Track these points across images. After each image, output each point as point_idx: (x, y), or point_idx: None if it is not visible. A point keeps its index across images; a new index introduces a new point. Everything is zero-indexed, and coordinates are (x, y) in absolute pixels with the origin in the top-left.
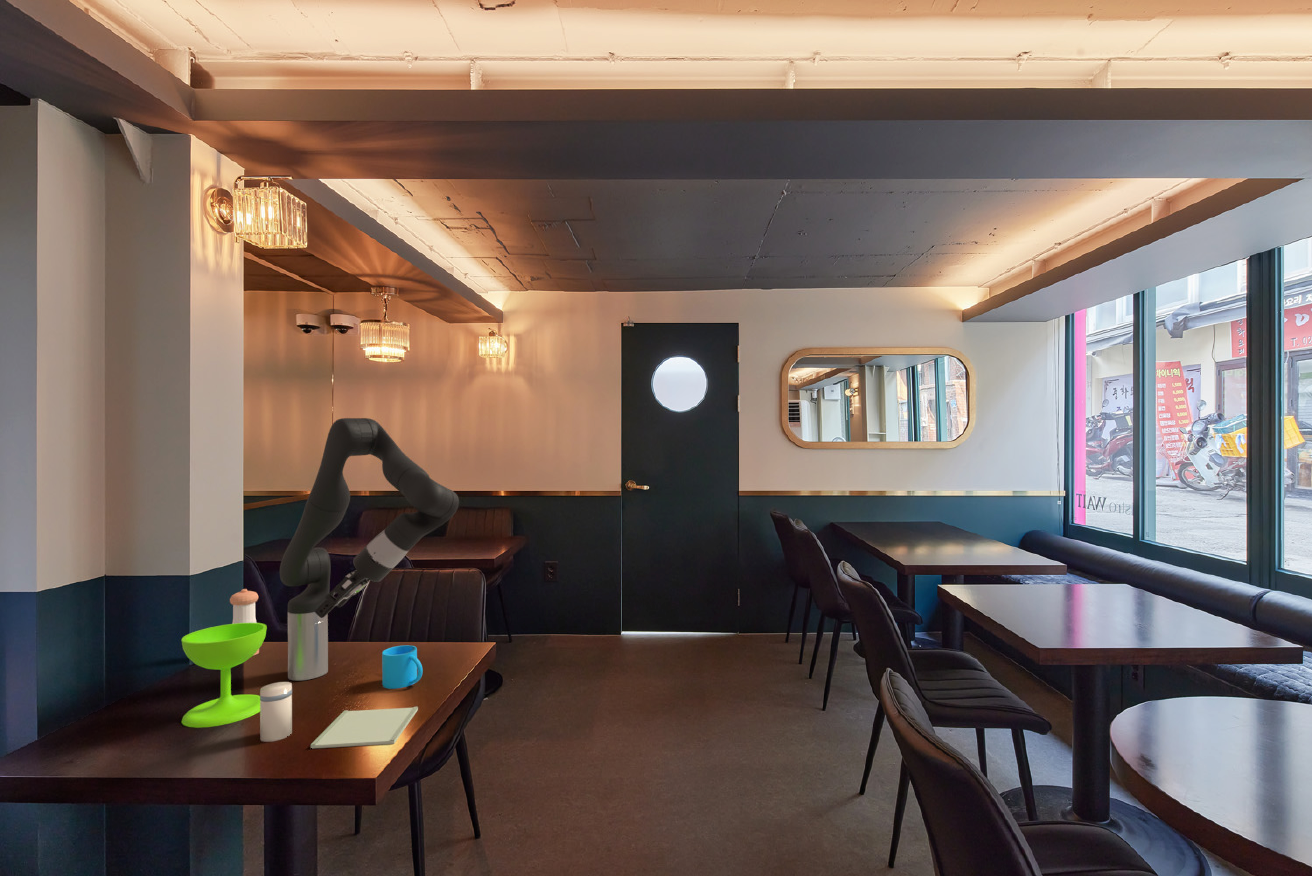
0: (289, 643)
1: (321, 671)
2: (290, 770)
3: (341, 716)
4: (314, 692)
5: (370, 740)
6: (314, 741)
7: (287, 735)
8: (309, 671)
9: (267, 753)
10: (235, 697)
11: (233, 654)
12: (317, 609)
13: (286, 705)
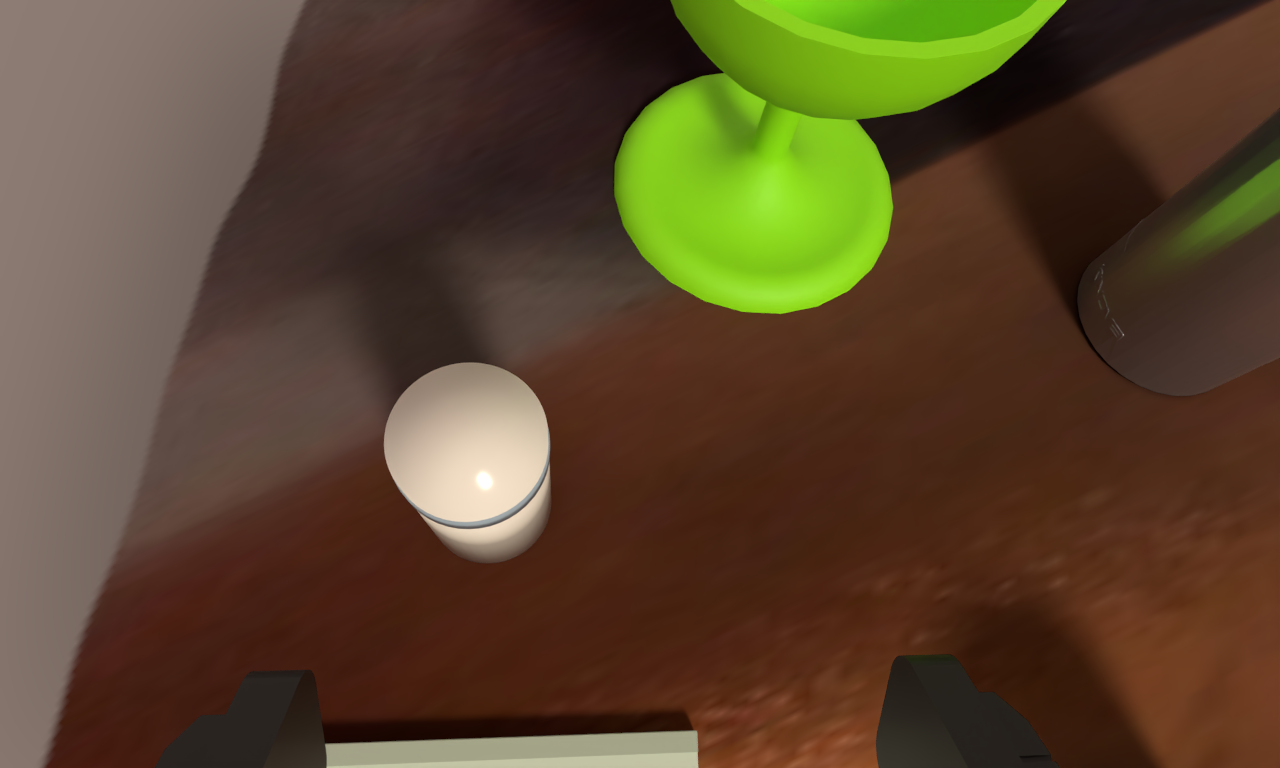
0: (1212, 165)
1: (1160, 380)
2: (94, 755)
3: (619, 752)
4: (957, 445)
5: None
6: (332, 748)
7: (466, 559)
8: (1123, 337)
9: (309, 554)
10: (853, 163)
11: (712, 52)
12: (228, 716)
13: (445, 530)
